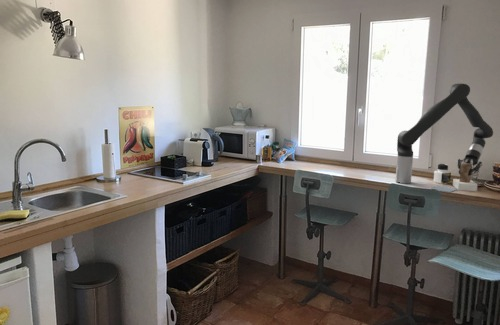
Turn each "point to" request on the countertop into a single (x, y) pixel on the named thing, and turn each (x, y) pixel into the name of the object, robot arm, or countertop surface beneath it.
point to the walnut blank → (465, 172)
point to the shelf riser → (464, 185)
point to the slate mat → (444, 189)
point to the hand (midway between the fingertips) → (464, 174)
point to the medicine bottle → (442, 174)
